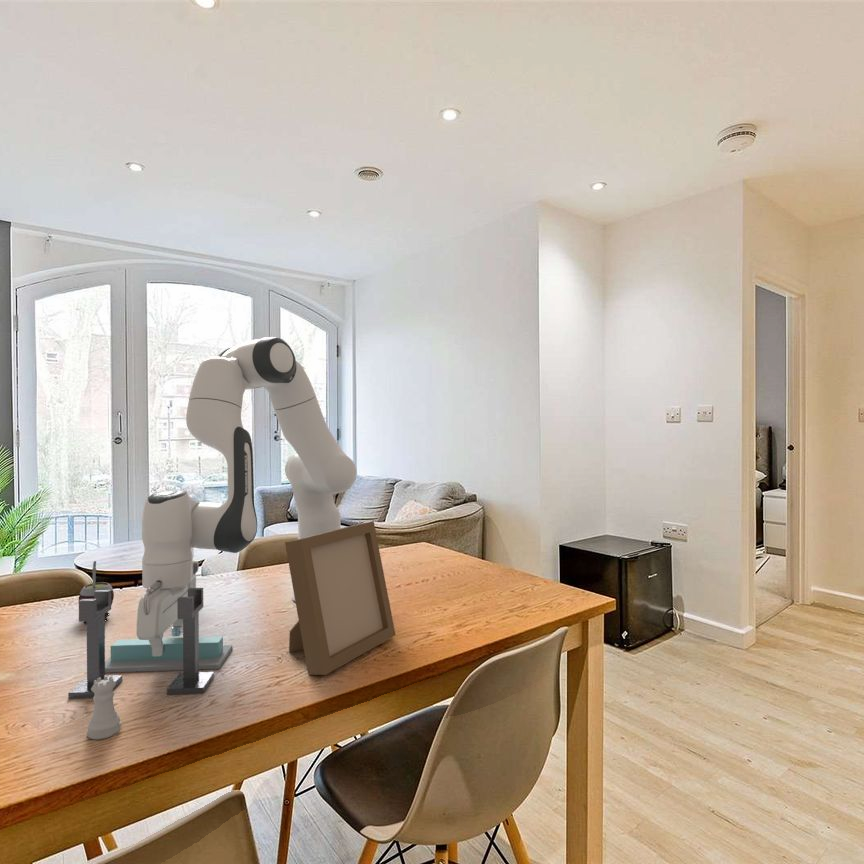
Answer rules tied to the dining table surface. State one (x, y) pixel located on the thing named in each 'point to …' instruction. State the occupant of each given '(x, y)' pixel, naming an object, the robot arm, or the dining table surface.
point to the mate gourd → (89, 589)
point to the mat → (165, 663)
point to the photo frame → (338, 596)
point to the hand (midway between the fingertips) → (168, 644)
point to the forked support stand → (183, 683)
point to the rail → (173, 649)
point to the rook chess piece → (103, 710)
